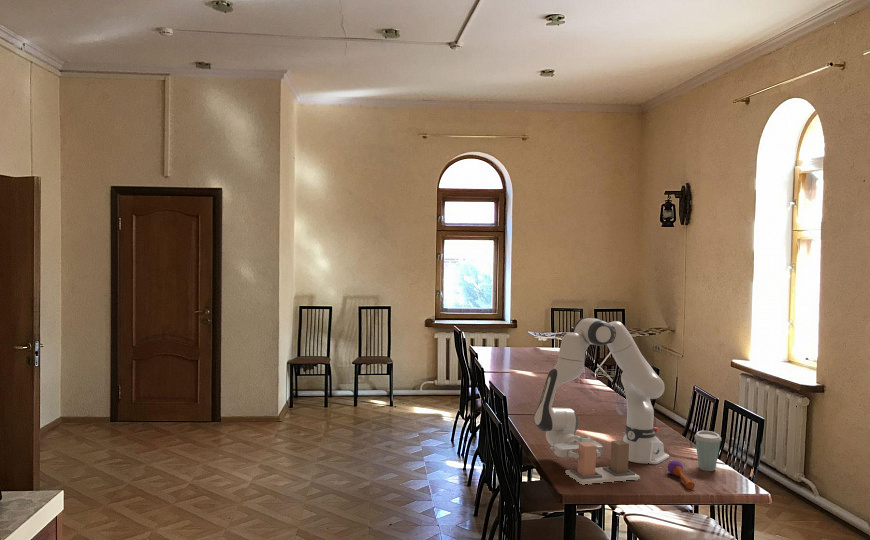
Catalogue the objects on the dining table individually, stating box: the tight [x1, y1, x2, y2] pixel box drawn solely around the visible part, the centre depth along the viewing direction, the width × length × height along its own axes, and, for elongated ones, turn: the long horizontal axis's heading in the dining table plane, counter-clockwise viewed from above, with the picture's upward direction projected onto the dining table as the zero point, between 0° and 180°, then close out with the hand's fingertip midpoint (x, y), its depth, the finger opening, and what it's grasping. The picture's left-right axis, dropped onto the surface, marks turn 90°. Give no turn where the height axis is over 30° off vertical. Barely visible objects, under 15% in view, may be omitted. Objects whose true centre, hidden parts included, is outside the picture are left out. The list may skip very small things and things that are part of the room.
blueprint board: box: [565, 439, 641, 486], centre depth 278 cm, size 26×13×14 cm, turn 108°
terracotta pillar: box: [576, 442, 597, 476], centre depth 275 cm, size 5×5×12 cm
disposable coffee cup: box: [694, 430, 722, 472], centre depth 293 cm, size 11×11×15 cm
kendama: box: [667, 460, 696, 490], centre depth 277 cm, size 6×6×20 cm
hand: (588, 455), depth 274 cm, fingers open, 8 cm apart
